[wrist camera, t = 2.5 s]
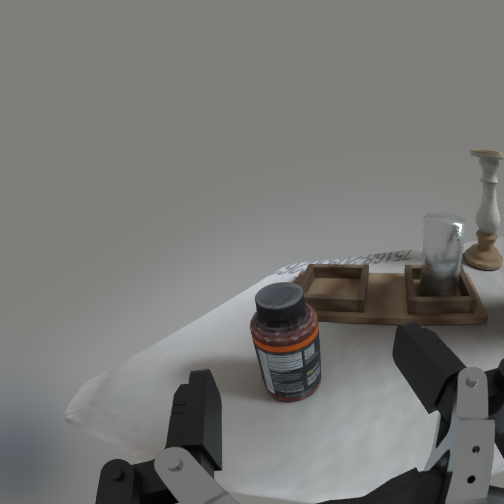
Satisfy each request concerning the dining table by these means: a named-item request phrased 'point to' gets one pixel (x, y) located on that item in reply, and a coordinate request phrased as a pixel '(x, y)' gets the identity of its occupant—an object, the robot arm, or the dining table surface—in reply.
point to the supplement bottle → (286, 341)
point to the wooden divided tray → (385, 297)
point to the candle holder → (486, 215)
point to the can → (441, 254)
